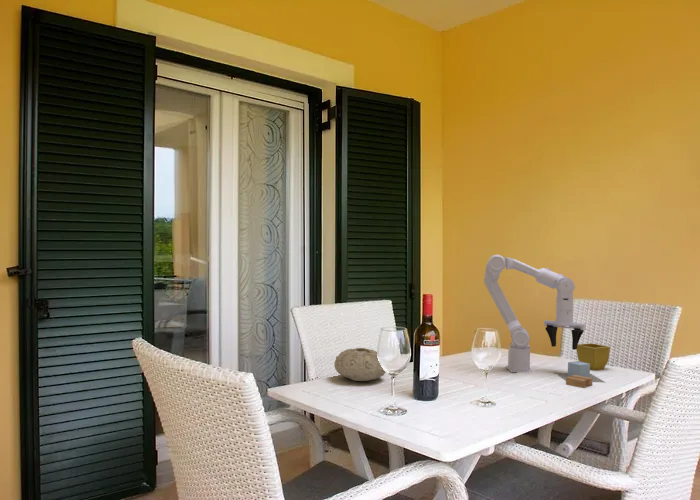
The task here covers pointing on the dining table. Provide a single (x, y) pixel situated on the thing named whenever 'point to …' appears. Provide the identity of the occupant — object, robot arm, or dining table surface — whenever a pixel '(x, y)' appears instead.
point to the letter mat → (594, 378)
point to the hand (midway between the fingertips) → (564, 347)
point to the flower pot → (593, 355)
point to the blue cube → (578, 369)
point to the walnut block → (579, 381)
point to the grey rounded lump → (359, 364)
